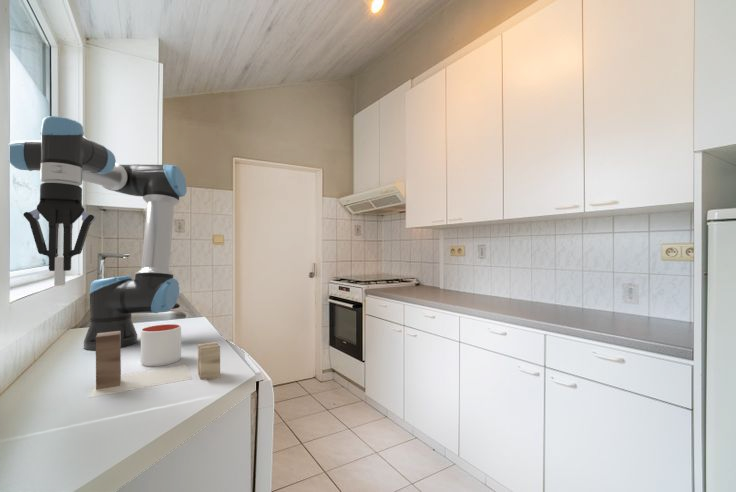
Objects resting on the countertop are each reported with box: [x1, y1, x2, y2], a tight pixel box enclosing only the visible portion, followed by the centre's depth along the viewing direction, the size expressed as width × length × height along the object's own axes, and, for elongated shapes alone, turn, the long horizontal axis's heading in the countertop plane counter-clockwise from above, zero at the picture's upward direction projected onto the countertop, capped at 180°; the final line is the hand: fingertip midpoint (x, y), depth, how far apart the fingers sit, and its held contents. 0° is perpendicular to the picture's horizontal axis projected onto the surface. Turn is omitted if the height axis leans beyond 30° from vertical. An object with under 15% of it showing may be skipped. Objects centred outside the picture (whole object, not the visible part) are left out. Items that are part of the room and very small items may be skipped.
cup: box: [140, 323, 182, 368], centre depth 104 cm, size 10×10×10 cm
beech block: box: [197, 341, 221, 381], centre depth 92 cm, size 4×4×8 cm
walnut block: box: [95, 331, 122, 390], centre depth 85 cm, size 4×4×12 cm
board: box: [89, 364, 193, 398], centre depth 89 cm, size 13×20×1 cm, turn 122°
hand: (59, 285), depth 84 cm, fingers closed
